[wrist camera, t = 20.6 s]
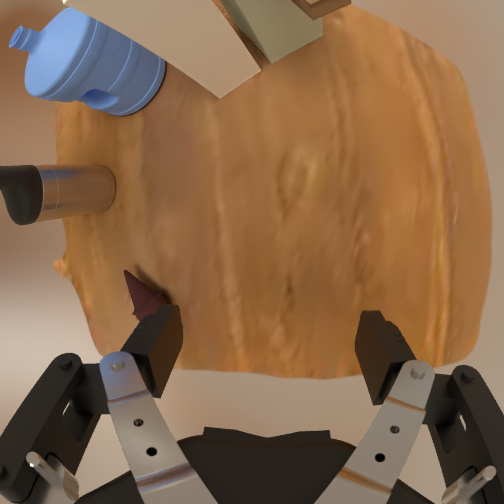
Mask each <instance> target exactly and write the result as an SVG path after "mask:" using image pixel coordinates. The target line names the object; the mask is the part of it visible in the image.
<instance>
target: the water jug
mask: <svg viewBox="0 0 504 504" xmlns="http://www.w3.org/2000/svg"><path fill="white" fill-rule="evenodd" d="M9 47H10V48H13V47H16V48H18V49H19V50H25V51H28V52H29V57H28V62H27V66H26V71H25V86H26V89H27V91H28V93H30V95H32V96H35V97H38V98H41V99H45V100H52V101H60V102H72V101H74V100H76V101H80V102H85V104H86V105H87V106H89V107H90V108H92V109H96V110H100V111H104V112H107V113H109V114H113V115H117V116H124V115H129V114H132V113H134V112H136V111H138V110H139V109H141V108H142V107H144V106H145V105H146V104H147V103H148V102H149V101H150V100H151V99H152V98H153V96H154V95H155V94H156V92H157V90H158V89H159V87H160V85H161V83H162V80H163V77H164V73H165V60H164V59H162V58H161V57H159V56H158V55H156V54H155V53H153V52H152V51H150V50H148V49H147V48H145V47H143V46H142V45H140V44H139V43H137V42H135V41H134V40H132V39H130V38H129V37H127V36H125V35H123V34H122V33H120V32H118V31H116V30H115V29H113V28H111V27H109V26H107V25H105V24H104V23H102V22H100V21H98V20H96V19H94V18H92V17H90V16H88V15H86V14H84V13H82V12H80V11H78V10H76V9H74V8H72V7H68V8H66V9H64V10H63V11H62V12H60V13H59V14H58V15H57V16H56V17H55V18H53V19H52V21H51V22H50V23H49V24H48V25H47V26H46V27H45V28H44V29H43V30H42V31H41V32H37V31H34V30H33V29H26V28H24V27H23V26H20V27H19V28H18V29H17V30H16V31H15V33H14V34H13V36H12V38H11V41H10V44H9Z"/></svg>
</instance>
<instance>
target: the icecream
mask: <svg viewBox="0 0 504 504" xmlns="http://www.w3.org/2000/svg"><path fill="white" fill-rule="evenodd" d="M124 275H125V279H126V282H127V286H128V289H129V292H130V296H131V299H132V302H133V305H134V308H135V309H134V312H133V314H132V315H136V317H137V319H138V320H139V321H141V319H143V318H144V317H146V316H147V315H149V314H155V312H156V311H157V309H158V308H159V306H160V305H161V304H168V303H167V301H166V299H165V297H164V296H163V295H162V294H163V291H161V292H160V293H156V292H154V291H153V290H152V289H150V288H149V287H148V286H146V285H145V284H144V283H142V282H141V281H140V280H138V279H137V278H136V277H135V276H133V275H132V274H131V273H130V272H128V271H127V270H124Z"/></svg>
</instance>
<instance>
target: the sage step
mask: <svg viewBox="0 0 504 504" xmlns="http://www.w3.org/2000/svg"><path fill="white" fill-rule="evenodd" d="M220 2H221V3H222V4H223V6H224V7H225V9H226V10H227V11H228V13H229V14H230V16H231V17H232V19H233V20H234V21H235V23H236V24H237V26H238V27H239V29H240V30H241V31H242V32H243V33H244V34H245V35H246V36H247V37H248V38H249V39H250V40H251V41H252V42H253V43H254V45H255V46H256V47H257V48H258V49H259V50H260V51H261V52H262V53H263V54H264V56H265V57H266V58H267V59H268V60H269V61H270V62H271V64H273V63H275V62H277V61H278V60H280V59H282V58H283V57H285V56H287V55H289V54H290V53H292V52H294V51H296V50H297V49H299V48H301V47H303V46H305V45H306V44H308V43H310V42H312V41H314V40H316V39H318V38H320V37H322V36H324V33H323V23H322V17H320V18H318V19H316V20H314V21H313V20H312V19H311V18H310V17H309V16H308V15H307V14H305V13H304V12H303V11H302V10H301V9H300V8H299V7H298V6H297V5H295V4H294V3H293V2H292V1H291V0H220Z"/></svg>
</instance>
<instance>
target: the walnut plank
mask: <svg viewBox="0 0 504 504" xmlns="http://www.w3.org/2000/svg"><path fill="white" fill-rule="evenodd" d="M291 1H292V2H293V3H294V4H295V5H297V6H298V7H299V8H300V9H301V10H302V11H303V12H304V13H305V14H307V15H308V16H309V17H310V18H311V19H312V20H313V21H314V20H316V19H318V18H320V17H322V16H324V15H327V14H329V13H331V12H333V11H335V10H338V9H340V8H342V7H345V6H347V5H349V4H351V0H291Z"/></svg>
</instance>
